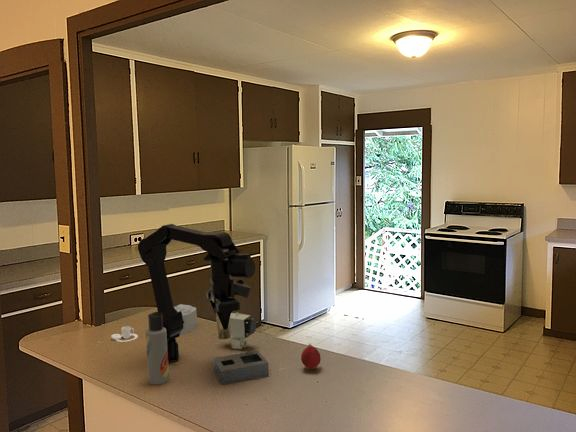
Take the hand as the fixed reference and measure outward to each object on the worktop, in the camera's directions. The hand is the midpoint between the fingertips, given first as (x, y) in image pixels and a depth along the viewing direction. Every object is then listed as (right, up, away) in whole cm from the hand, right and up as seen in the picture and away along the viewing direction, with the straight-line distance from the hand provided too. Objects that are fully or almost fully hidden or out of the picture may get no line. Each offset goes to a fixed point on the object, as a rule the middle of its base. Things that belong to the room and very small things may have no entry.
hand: (223, 327), depth 146 cm
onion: (+26, -13, +1) cm, 29 cm away
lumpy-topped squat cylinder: (-22, -10, +38) cm, 45 cm away
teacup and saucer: (-41, -11, +33) cm, 54 cm away
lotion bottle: (-18, -15, -4) cm, 24 cm away
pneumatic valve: (+3, -11, +20) cm, 23 cm away
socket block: (+5, -14, -1) cm, 14 cm away
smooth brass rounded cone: (0, -3, 0) cm, 3 cm away
